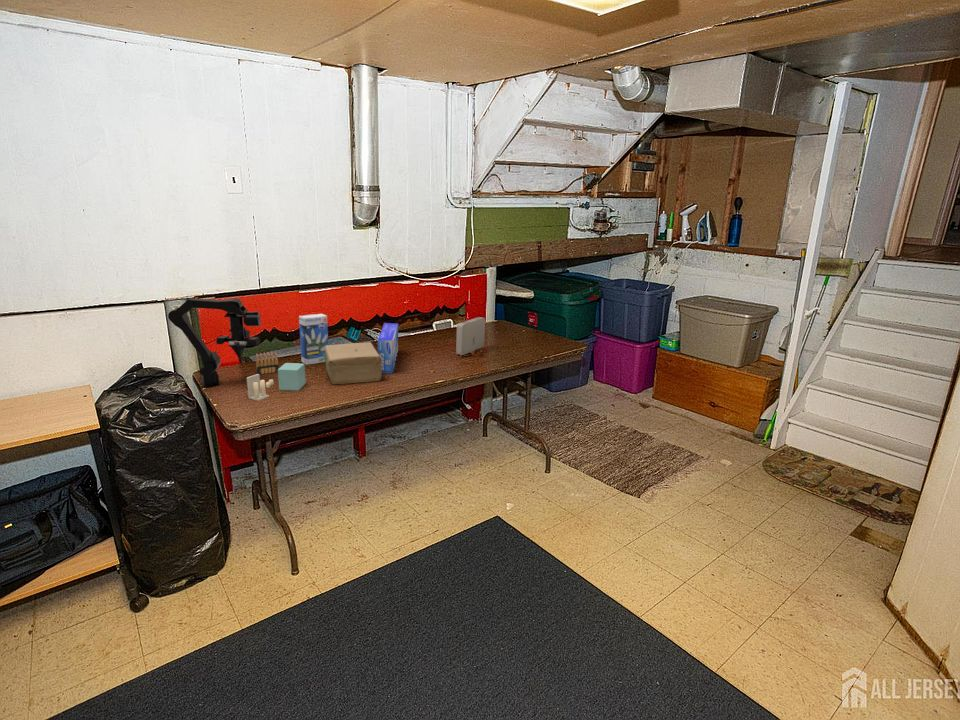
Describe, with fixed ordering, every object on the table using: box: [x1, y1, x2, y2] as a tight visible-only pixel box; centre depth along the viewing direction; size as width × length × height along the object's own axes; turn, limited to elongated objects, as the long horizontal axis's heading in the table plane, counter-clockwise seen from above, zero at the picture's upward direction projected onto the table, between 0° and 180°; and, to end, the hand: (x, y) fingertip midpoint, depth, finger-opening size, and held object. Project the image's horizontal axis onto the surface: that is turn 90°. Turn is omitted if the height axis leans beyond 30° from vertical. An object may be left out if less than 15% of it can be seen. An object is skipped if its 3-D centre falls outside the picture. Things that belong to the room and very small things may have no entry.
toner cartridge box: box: [377, 322, 399, 374], centre depth 297 cm, size 39×8×18 cm, turn 4°
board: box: [265, 378, 274, 389], centre depth 255 cm, size 12×7×3 cm, turn 89°
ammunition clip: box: [255, 350, 280, 376], centre depth 271 cm, size 11×2×12 cm, turn 122°
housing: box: [277, 362, 307, 391], centre depth 254 cm, size 9×10×10 cm
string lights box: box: [298, 313, 329, 366], centre depth 293 cm, size 13×8×26 cm, turn 129°
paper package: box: [324, 341, 383, 385], centre depth 275 cm, size 27×26×14 cm
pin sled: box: [246, 374, 270, 402], centre depth 239 cm, size 6×6×10 cm
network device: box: [455, 316, 486, 356], centre depth 320 cm, size 26×9×20 cm, turn 148°
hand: (240, 358), depth 255 cm, fingers closed
